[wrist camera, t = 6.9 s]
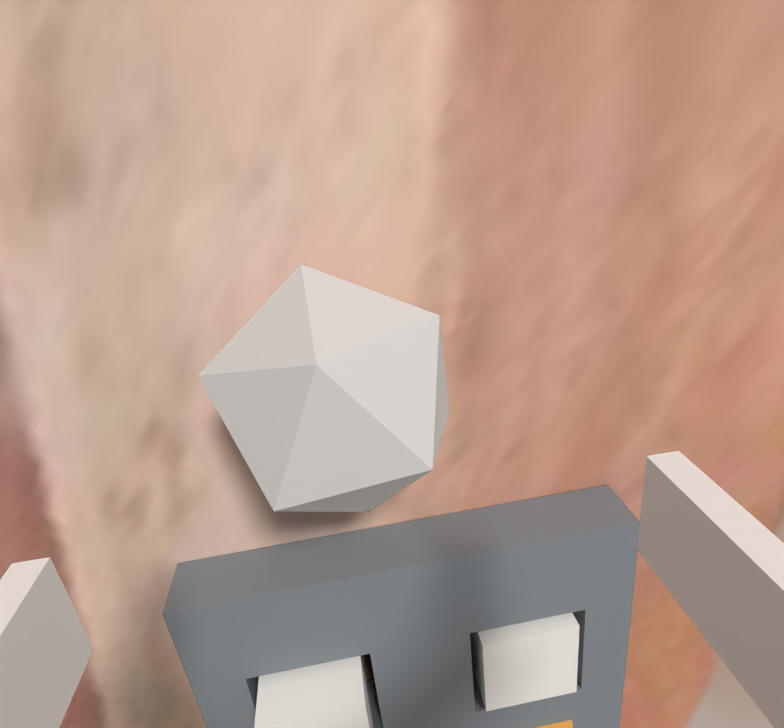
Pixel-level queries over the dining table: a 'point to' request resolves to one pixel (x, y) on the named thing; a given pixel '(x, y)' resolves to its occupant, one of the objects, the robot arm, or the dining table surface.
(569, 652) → the tagged button
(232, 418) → the die
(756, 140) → the dining table surface
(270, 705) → the button
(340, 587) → the breaker panel
